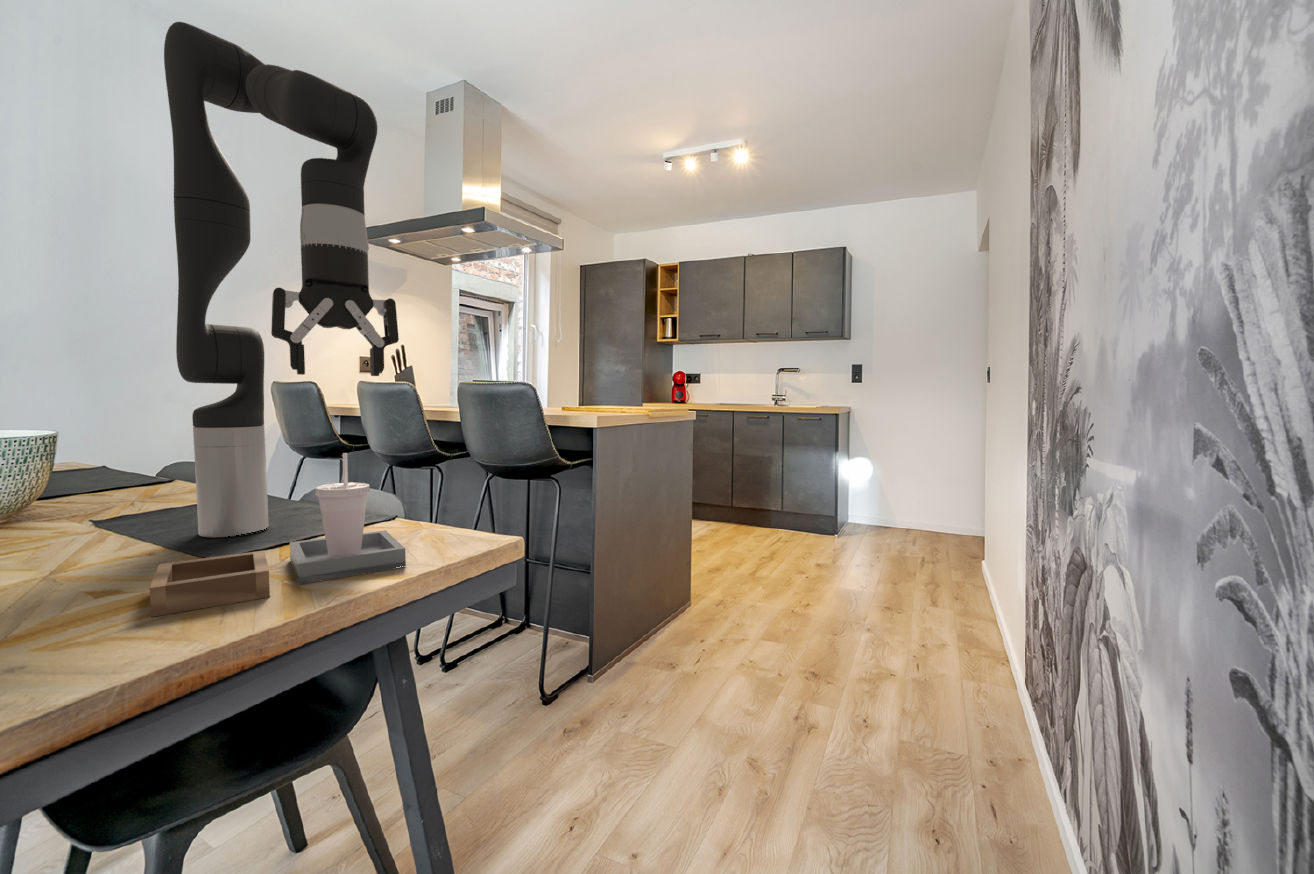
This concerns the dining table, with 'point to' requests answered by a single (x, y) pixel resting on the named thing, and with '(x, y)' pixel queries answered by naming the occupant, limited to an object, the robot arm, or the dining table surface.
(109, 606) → the dining table surface
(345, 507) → the smoothie
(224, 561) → the holder
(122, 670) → the dining table surface
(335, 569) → the tray
